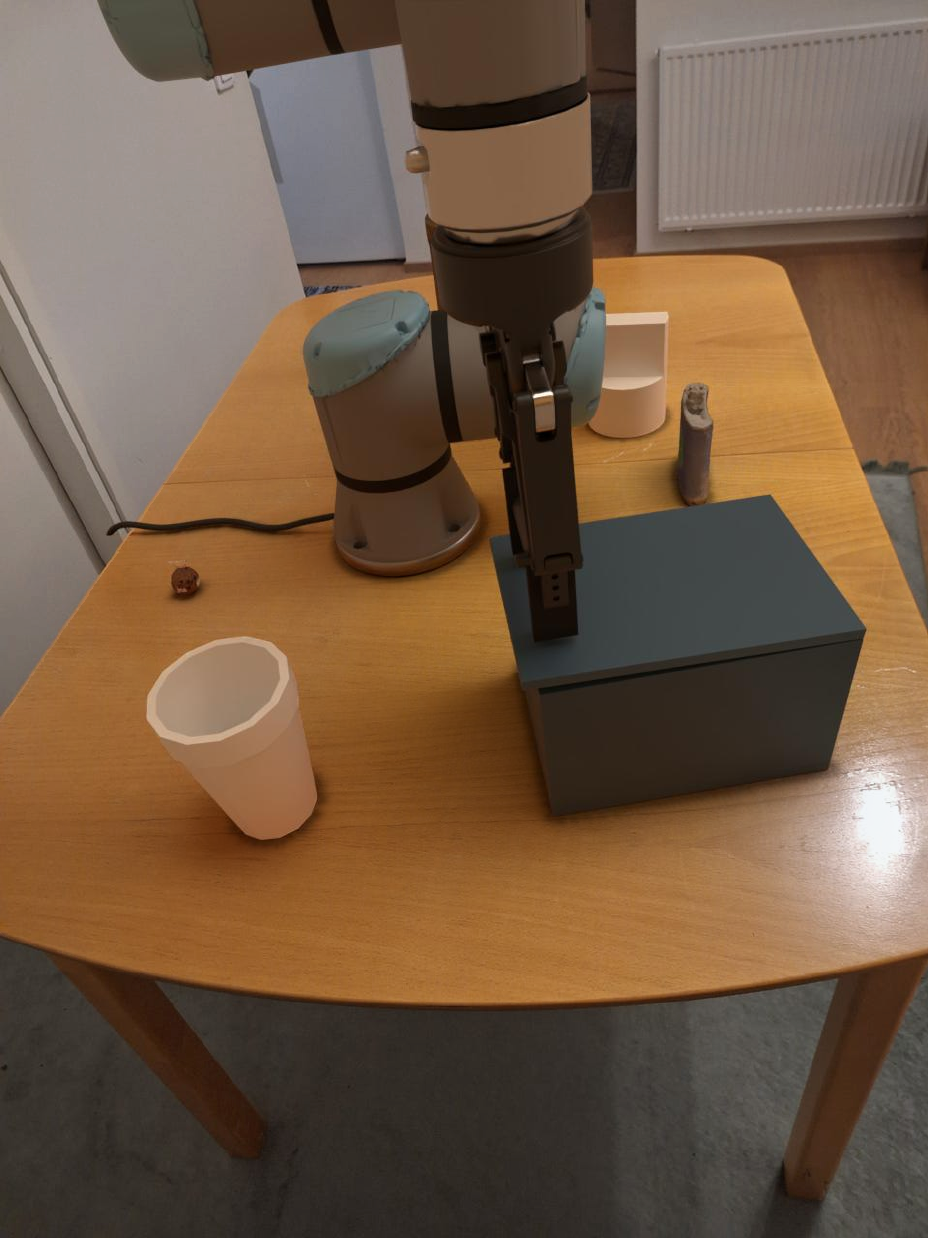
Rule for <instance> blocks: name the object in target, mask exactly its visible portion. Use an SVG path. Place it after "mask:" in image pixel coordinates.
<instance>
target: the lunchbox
mask: <svg viewBox="0 0 928 1238" xmlns="http://www.w3.org/2000/svg"><path fill="white" fill-rule="evenodd" d="M863 644H864V638H862V639H856V640H849V641H843V642H836V643H830V644H823V645H817V646H810V647H804V648H797V649H791V650H784V651H778V652H771V653H765V654H758V655H752V656H745V657H739V658H732V659H726V660H720V661H713V662H707V663H700V664H694V665H687V666H681V667H674V668H668V669H661V670H655V671H648V672H642V673H635V674H629V675H622V676H616V677H609V678H603V679H596V680H590V681H583V682H577V683H570V684H564V685H557V686H551V687H544V688H538V689H531V690H525V691H524V692H525V693H524V695H525V698H526V702H527V706H528V707H527V708H528V710H529V715H530V720H531V724H532V730H533V734H534V738H535V743H536V747H537V752H538V755H539V760H540V765H541V769H542V773H543V779H544V782H545V788H546V791H547V797H548V800H549V805H550V809H551V814H552V817H558V816H559V817H560V816H566V815H571V814H576V813H583V812H589V811H593V810H594V811H595V810H600V809H605V808H611V807H617V806H623V805H628V804H636V803H641V802H647V801H653V800H659V799H665V798H670V797H676V796H681V795H687V794H693V793H700V792H703V791H710V790H717V789H722V788H728V787H734V786H735V787H736V786H741V785H745V784H752V783H757V782H758V783H759V782H763V781H769V780H774V779H775V780H776V779H780V778H787V777H791V776H792V777H793V776H798V775H804V774H809V773H813V772H814V773H815V772H821V771H828V770H829V769H830V765H831V761H832V759H833V758H832V757H833V754H834V750H835V746H836V743H837V739H838V736H839V732H840V729H841V724H842V720H843V717H844V714H845V710H846V706H847V702H848V699H849V695H850V693H851V689H852V688H851V687H852V684H853V681H854V677H855V673H856V671H857V666H858V663H859V659H860V656H861V651H862V647H863Z"/></svg>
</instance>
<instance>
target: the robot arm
mask: <svg viewBox="0 0 928 1238" xmlns="http://www.w3.org/2000/svg"><path fill="white" fill-rule="evenodd" d="M96 2H97V4H98V7H99V9H100V12H101V15H102V18H103V20H104V22H105V24H106V26H107V28H108V30H109V33H110V35H111V37H112V39H113V41H114V43H115V44H116V46H117V48H118V50H119V51H120V53H121V54H122V56H123V57H124V58H125V60H126V61H127V62H128V63H129V65H130V66H131V67H132V68H133V70H135V71H136V72H137V73H138V74H140V75H141V76H143V77H144V78H145V79H148V80H150V81H154V82H157V83H163V82H173V81H183V80H191V79H202V80H203V81H206V82H209V81H212V80H214V79H215V77H220V76H221V77H222V76H226V75H232V74H237V73H243V72H247V71H253V70H259V69H264V68H269V67H270V68H271V67H276V66H280V65H287V64H291V63H298V62H303V61H308V60H313V59H319V58H324V57H325V58H326V57H330V56H338V55H342V54H350V53H355V52H356V53H357V52H362V51H368V50H373V49H374V50H375V49H379V48H380V49H382V48H386V47H387V48H388V47H393V46H400V45H401V47H402V53H403V58H404V64H405V69H406V75H407V82H408V89H409V94H410V99H411V100H410V108H411V116H412V117H411V118H412V121H413V122H414V128H415V131H414V132H415V137H416V138H417V140H418V141H419V143H420V144H421V145H419V146H417V147H414V148H410V149H408V150H406V151H405V154H404V164H405V165H404V166H405V170H406V171H408V172H409V173H410V174H415V175H416V174H420V173H423V179H422V185H423V191H424V196H425V203H426V210H427V213H428V216H429V218H430V219H431V220H432V221H433V222H435V223H436V224H438V227H437V228H436V230H435V232H434V234H433V236H432V238H431V246H432V253H433V259H434V266H435V272H436V279H437V285H438V292H439V298H440V303H441V306H442V307H443V310H438V309H437V310H431V309H430V308H431V307H430V304H429V303H428V302H427V301H426V299H425V297H424V296H423V295H422V294H421V293H419V292H418V291H414V290H407V291H404V290H403V289H394V290H392V289H391V290H386V291H379V292H376V293H372V294H369V295H366V296H363V297H360V298H357V299H354V300H352V301H350V302H348V303H346V304H343V305H341V306H339V307H337V308H336V309H334V310H332V311H331V312H330V313H329V312H328V313H327V314H326V315H324V316H323V317H321V319H319V320H318V321H317V322H316V323H315V324H314V325H313V326H312V328H311V329H310V330H309V331H308V333H307V335H306V336H305V338H304V341H303V344H302V359H303V364H304V367H305V372H306V376H307V380H308V383H307V389H308V391H309V394H310V396H311V397H312V400H313V404H314V406H315V411H316V413H317V417H318V420H319V424H320V427H321V431H322V434H323V438H324V441H325V445H326V447H327V451H328V454H329V458H330V461H331V464H332V468H333V471H334V475H335V478H336V479H335V480H336V486H335V487H336V488H335V498H334V499H335V500H334V512H330V513H324V514H319V515H315V516H310V517H304V518H300V519H297V520H293V521H289V522H286V523H280V524H267V523H260V522H259V523H258V522H254V521H250V520H245V519H240V518H233V517H213V518H204V519H196V520H191V521H183V522H176V523H167V524H166V523H165V524H157V523H149V522H141V521H131V520H125V521H119V522H117V523H115V524H113V525H111V526H110V527H109V528H108V529H107V531H106V534H105V535H106V536H107V537H110V536H114V534H115V533H116V532H117V531H119V530H121V529H139V530H146V531H154V532H167V531H168V532H169V531H170V532H171V531H178V530H185V529H192V528H199V527H206V526H217V525H219V526H221V525H227V526H228V525H231V526H238V527H242V528H247V529H252V530H256V531H262V532H283V531H288V530H292V529H296V528H299V527H303V526H307V525H313V524H318V523H324V522H329V521H333V526H332V527H333V537H334V540H335V543H336V547H337V550H338V553H339V555H340V556H341V558H342V559H343V560H344V561H345V562H346V563H347V564H348V565H349V566H351V567H352V568H354V569H355V570H359V571H361V572H364V573H367V574H370V575H376V576H383V577H384V576H385V577H399V576H400V577H401V576H408V575H409V576H410V575H415V574H420V573H424V572H427V571H430V570H434V569H437V568H439V567H442V566H443V565H446V564H448V563H449V562H452V561H453V560H455V559H456V558H458V557H459V556H461V554H463V553H464V552H465V551H467V550H468V549H469V548H470V546H472V544H473V543H474V542H475V540H476V539H477V537H478V535H479V532H480V530H481V523H482V519H481V518H482V517H481V513H480V512H481V511H480V506H479V501H478V499H477V497H476V495H475V492H474V491H473V489H472V488H471V486H470V484H469V482H468V480H467V479H466V477H465V475H464V473H463V471H462V470H461V468H460V466H459V464H458V463H457V461H456V459H455V457H454V456H453V452H452V451H453V450H452V447H451V444H455V443H467V442H474V441H475V442H476V441H483V440H492V439H497V441H498V442H499V448H498V449H499V451H498V456H499V459H500V460H501V461H502V465H505V464H509V466H508V467H504V468H501V473H502V482H503V489H504V499H505V507H506V515H507V524H508V532H509V533H508V534H510V541H511V549H512V553H513V555H514V556H515V561H516V566H517V568H518V567H524V566H525V569H526V579H527V588H528V598H529V607H530V617H531V626H532V635H533V639H534V642H540V641H546V640H552V639H558V638H563V637H569V636H575V635H578V617H577V598H576V580H575V570H577V569H582V567H583V563H582V562H583V561H584V560H583V554H582V552H581V545H580V532H579V523H580V522H579V510H578V509H579V508H578V498H577V497H578V496H577V485H576V473H575V471H576V470H575V460H574V448H573V436H572V429H574V428H580V427H583V426H585V425H587V424H588V422H590V421H591V420H592V418H593V417H594V416H595V414H596V412H597V409H598V406H599V402H600V397H601V390H602V382H603V373H604V361H605V346H606V314H607V313H606V311H607V310H606V304H607V299H606V294H605V292H604V290H603V289H601V288H597V287H596V286H594V252H593V250H594V248H593V247H594V245H593V220H592V219H593V217H592V216H591V214H590V212H588V211H587V209H586V208H585V207H584V204H586V202H587V201H588V200H589V199H590V198H591V196H592V195H593V170H592V169H593V167H592V166H593V165H592V163H593V162H592V161H593V160H592V127H591V126H592V123H591V122H592V121H591V118H592V117H591V93H590V92H589V89H588V88H589V86H588V74H587V67H586V66H587V65H586V64H587V63H586V62H587V61H586V58H587V57H586V0H96ZM519 495H520V501H521V508H522V515H523V522H524V529H525V536H526V543H527V550H524V549H523V546H522V542H521V538H520V535H519V531H518V527H517V524H516V520H515V516H514V513H513V508H512V506H513V502H514V500H515V499H516V498H517V497H518V496H519Z"/></svg>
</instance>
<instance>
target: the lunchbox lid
mask: <svg viewBox="0 0 928 1238" xmlns="http://www.w3.org/2000/svg"><path fill="white" fill-rule="evenodd" d="M512 508H513V513H514V516H515V520H516V524H517V527H518V531H519V535H520V538H521V542H522V546H523V549H524V550H527V543H526V536H525V529H524V522H523V515H522V508H521V501H520V495H519V496H518V497H517V498H516V499H515V500H514V502H513V506H512ZM579 532H580V545H581V552H582V554H583V560H584V561H583V562H582V563H583V567H582V569H577V570H575V580H576V598H577V617H578V635H575V636H569V637H563V638H558V639H552V640H546V641H540V642H534V639H533V635H532V626H531V617H530V607H529V598H528V588H527V579H526V569H525V566H524V567H518V568H517V566H516V561H515V556H514V555H513V553H512V549H511V541H510V533H507V534H501V535H495V536H489V538H488V539H489V540H488V541H489V547H490V552H491V556H492V561H493V565H494V570H495V574H496V579H497V583H498V584H497V585H498V588H499V593H500V596H501V602H502V605H503V610H504V615H505V619H506V624H507V629H508V633H509V637H510V638H509V639H510V642H511V646H512V651H513V656H514V661H515V665H516V669H517V674H518V678H519V683H520V687H521V691H522V692H525V690H531V689H538V688H544V687H551V686H557V685H564V684H570V683H577V682H583V681H590V680H596V679H603V678H609V677H616V676H622V675H629V674H635V673H642V672H648V671H655V670H661V669H668V668H674V667H681V666H687V665H694V664H700V663H707V662H713V661H720V660H726V659H732V658H739V657H745V656H752V655H758V654H765V653H771V652H778V651H784V650H791V649H797V648H804V647H810V646H817V645H823V644H830V643H836V642H843V641H849V640H856V639H862V638H863V639H864V638H865V636H866V633H867V627H866V626H865V624H864V623H863V621H862V620H861V619H860V617H859V616H858V614H857V613H856V612H855V610H854V609H853V608H852V606H851V604H850V603H849V601H847V599H846V598H845V596H844V595H843V594H842V593H843V592H841V591H840V589H839V588H838V587H837V585H836V584H835V582H834V581H833V579H832V578H831V576H830V575H829V574H828V573H827V571H826V569H824V567H823V565H822V564H821V563H820V561H819V560H818V559H817V557H816V556H815V555H814V553H813V551H812V550H811V549H810V548H809V546H808V545H807V543H806V542H805V540H804V539H803V537H802V536H801V535H800V533H799V532H798V531H797V529H796V527H795V526H794V525H793V524H792V522H791V521H790V520H789V518H788V516H787V514H786V513H784V511H783V510H782V508H781V507H780V506H779V503H778V502H777V501H776V500H775V498H774V497H773V496H772V494H771V493H769V494H763V495H757V496H749V497H744V498H737V499H729V500H724V501H718V502H717V501H716V502H710V503H709V502H708V503H704V504H703V505H701V504H700V505H699V504H698V505H695V506H692V505H689V506H685V507H683V506H682V507H677V508H671V509H665V510H664V509H663V510H658V511H650V512H644V513H638V514H633V515H631V514H630V515H625V516H619V517H612V518H606V519H598V520H592V521H586V522H579Z"/></svg>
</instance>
